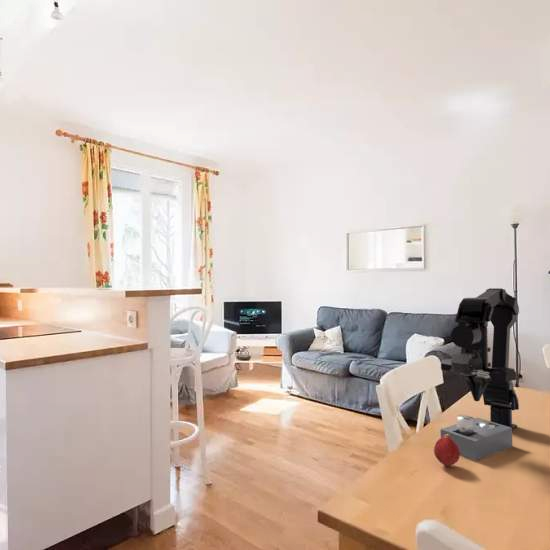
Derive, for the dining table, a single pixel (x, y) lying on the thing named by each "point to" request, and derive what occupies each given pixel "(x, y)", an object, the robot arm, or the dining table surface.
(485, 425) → the peg
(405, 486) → the dining table surface
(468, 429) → the peg
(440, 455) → the onion
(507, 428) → the socket block
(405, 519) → the dining table surface
